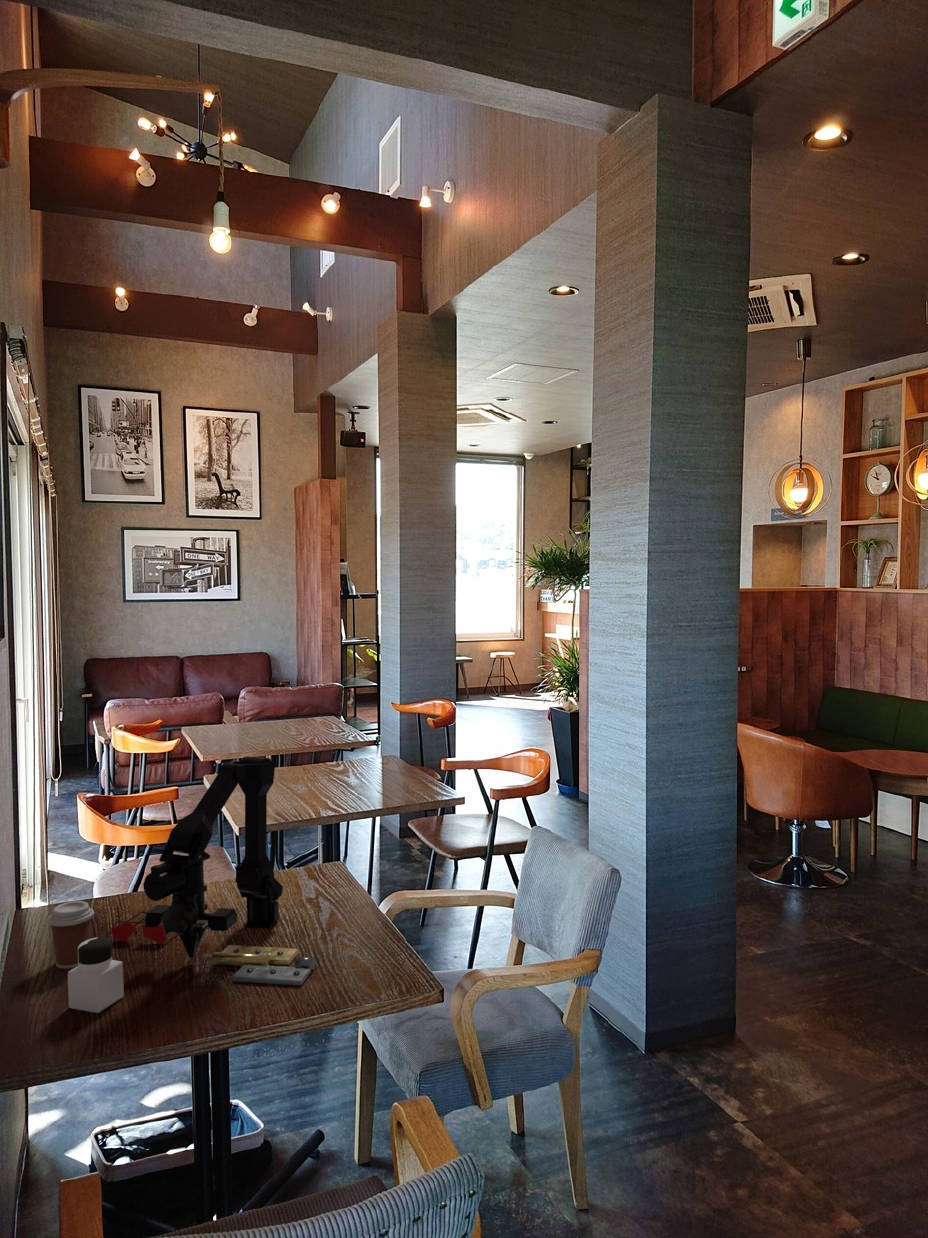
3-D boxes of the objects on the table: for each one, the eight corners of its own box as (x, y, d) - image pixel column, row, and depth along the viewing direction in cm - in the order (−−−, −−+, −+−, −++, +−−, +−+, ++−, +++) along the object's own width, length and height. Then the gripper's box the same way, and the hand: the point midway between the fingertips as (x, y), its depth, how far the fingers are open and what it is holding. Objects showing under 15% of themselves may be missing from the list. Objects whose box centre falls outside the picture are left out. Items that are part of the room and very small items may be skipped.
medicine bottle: (124, 996, 168) (122, 936, 168) (98, 1014, 161) (96, 951, 161) (95, 992, 171) (93, 932, 170) (68, 1008, 164) (65, 946, 163)
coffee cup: (86, 949, 191) (84, 896, 190) (102, 961, 184) (100, 906, 184) (42, 962, 185) (40, 907, 184) (58, 975, 178) (56, 918, 178)
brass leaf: (211, 966, 181) (211, 955, 181) (229, 949, 189) (228, 938, 189) (283, 970, 178) (283, 959, 178) (298, 953, 186) (298, 942, 186)
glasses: (109, 943, 195) (108, 922, 195) (149, 916, 211) (148, 896, 211) (165, 947, 192) (164, 925, 192) (201, 919, 208) (200, 899, 208)
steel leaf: (232, 981, 174) (232, 969, 174) (249, 963, 182) (249, 952, 182) (300, 985, 171) (300, 974, 171) (315, 967, 180) (315, 956, 179)
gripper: (128, 896, 176) (130, 971, 177) (213, 900, 173) (215, 977, 173) (156, 878, 187) (159, 948, 188) (237, 881, 184) (239, 953, 184)
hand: (192, 957), depth 183 cm, fingers closed
